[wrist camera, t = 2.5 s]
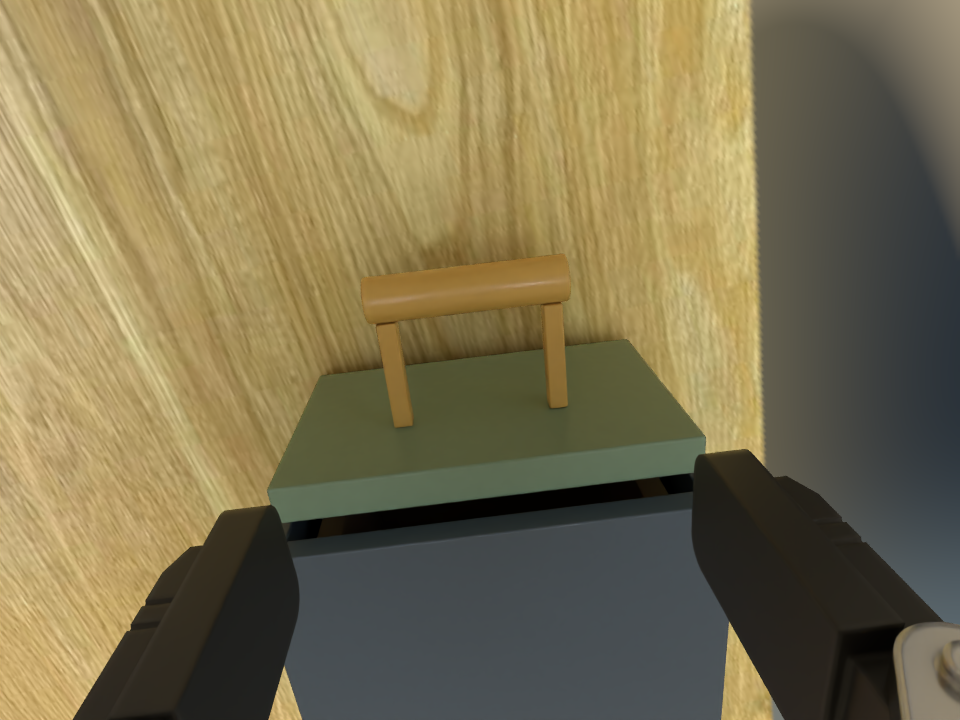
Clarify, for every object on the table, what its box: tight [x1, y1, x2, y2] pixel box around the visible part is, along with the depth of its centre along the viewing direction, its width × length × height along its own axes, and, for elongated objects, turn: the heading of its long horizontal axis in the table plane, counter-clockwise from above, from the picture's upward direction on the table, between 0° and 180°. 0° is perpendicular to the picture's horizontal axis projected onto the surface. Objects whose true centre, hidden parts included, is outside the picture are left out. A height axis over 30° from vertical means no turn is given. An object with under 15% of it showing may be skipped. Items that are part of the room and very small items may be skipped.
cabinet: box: [282, 473, 729, 720], centre depth 24 cm, size 15×14×10 cm
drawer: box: [267, 254, 706, 538], centre depth 22 cm, size 18×12×8 cm
